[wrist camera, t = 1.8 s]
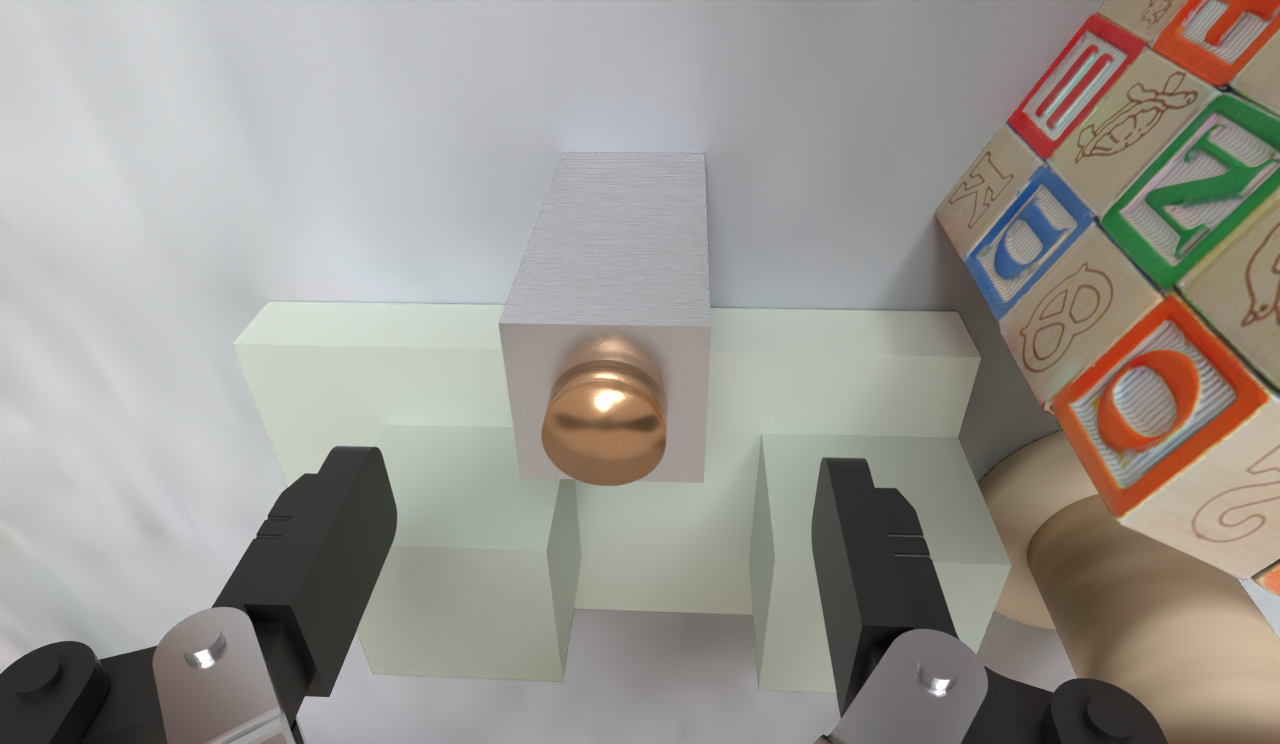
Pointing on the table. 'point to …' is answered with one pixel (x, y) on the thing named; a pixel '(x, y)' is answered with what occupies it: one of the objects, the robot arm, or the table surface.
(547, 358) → the box with copper knob
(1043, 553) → the bobbin
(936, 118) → the table surface
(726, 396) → the notch board
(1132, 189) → the stack of blocks
